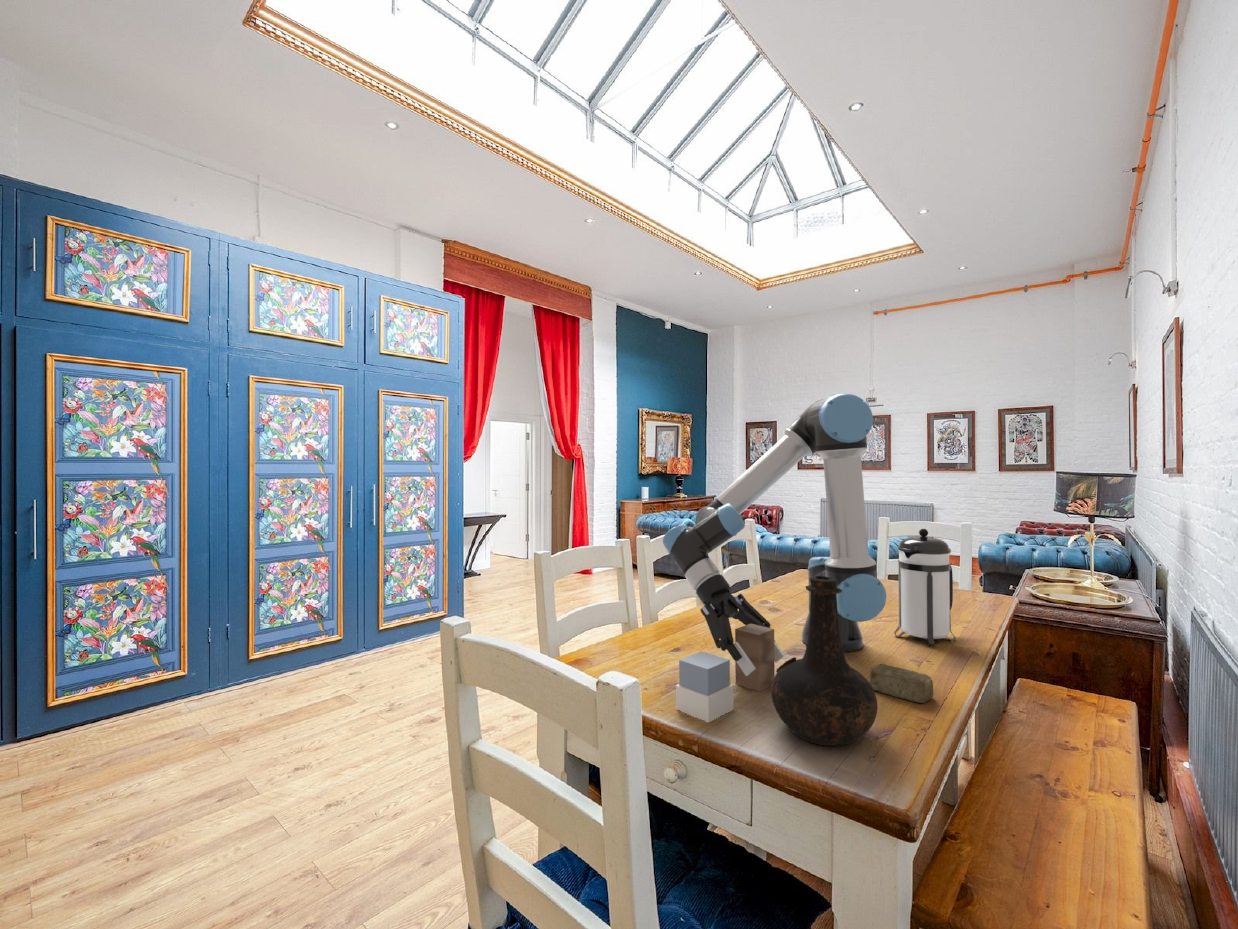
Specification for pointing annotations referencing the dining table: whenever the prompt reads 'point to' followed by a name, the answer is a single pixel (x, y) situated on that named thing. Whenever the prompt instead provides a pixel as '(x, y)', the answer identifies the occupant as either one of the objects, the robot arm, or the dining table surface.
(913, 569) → the coffee press
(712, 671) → the tower top block
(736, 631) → the walnut block
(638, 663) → the dining table surface
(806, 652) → the dark brown bulbous vessel
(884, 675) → the stone block
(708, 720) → the tower base block
